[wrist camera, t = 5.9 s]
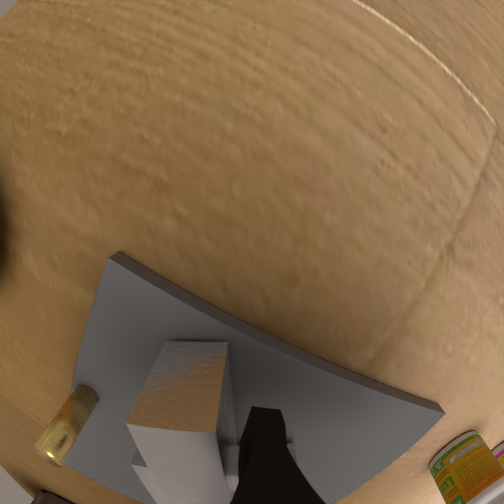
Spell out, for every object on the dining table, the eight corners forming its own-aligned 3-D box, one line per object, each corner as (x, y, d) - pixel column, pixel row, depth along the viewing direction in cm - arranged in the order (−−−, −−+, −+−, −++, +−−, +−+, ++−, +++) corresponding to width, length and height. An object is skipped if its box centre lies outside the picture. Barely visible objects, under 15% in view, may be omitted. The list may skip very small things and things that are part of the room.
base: (271, 526, 17) (273, 564, 12) (66, 454, 15) (44, 493, 10) (438, 404, 13) (473, 454, 8) (119, 251, 11) (45, 296, 6)
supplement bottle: (428, 453, 15) (470, 537, 5) (480, 419, 14) (530, 490, 5) (426, 475, 16) (458, 545, 7) (472, 446, 15) (511, 509, 6)
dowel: (97, 407, 12) (61, 470, 7) (75, 394, 12) (35, 452, 7) (101, 393, 11) (61, 460, 7) (78, 379, 11) (33, 441, 7)
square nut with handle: (286, 502, 14) (290, 552, 9) (173, 498, 14) (163, 545, 9) (303, 338, 10) (329, 427, 6) (104, 336, 10) (49, 404, 6)
